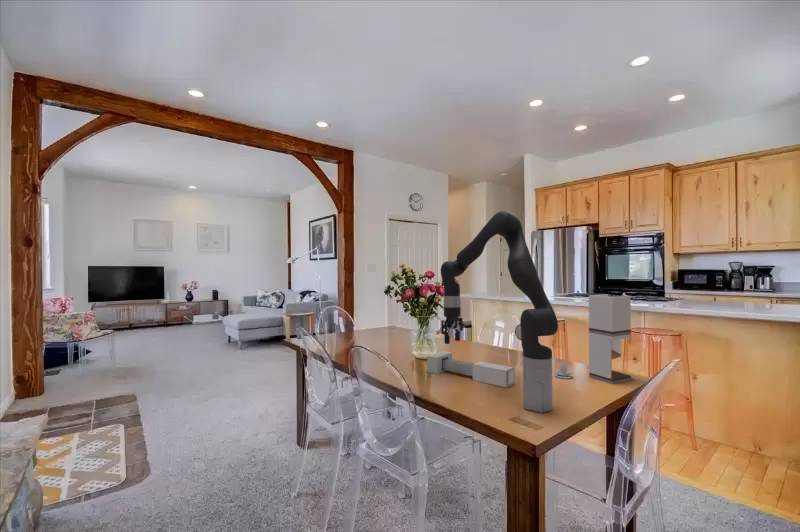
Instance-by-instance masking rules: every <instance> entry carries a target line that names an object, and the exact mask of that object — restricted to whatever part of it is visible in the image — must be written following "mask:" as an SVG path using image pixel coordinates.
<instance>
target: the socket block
mask: <svg viewBox="0 0 800 532" xmlns="http://www.w3.org/2000/svg"><path fill="white" fill-rule="evenodd" d="M443 358H448V359H453V353H452V352H451V351H450V352H449V351H443V350H442V351H438V352H435V353H432V354H428V355H427V356H426V362H427V363H426V364H427V365H426V368H427V369H426V370H427V371H426V372H427V373H431V374H434V375H438V374H439V375H440V374H441V373H444V372H447V371H448V370H445V369H442V359H443Z"/></svg>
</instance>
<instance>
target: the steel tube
mask: <svg viewBox="0 0 800 532" xmlns="http://www.w3.org/2000/svg"><path fill="white" fill-rule="evenodd" d="M473 364H475V363H474V362H468V361H465V360H464V361H463V360H457V359H453V358H452V359H448V358H443V359H442V369H445V370H447V371H451V372H456V373H461V374H464V375H469V376H473Z"/></svg>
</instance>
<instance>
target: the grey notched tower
mask: <svg viewBox="0 0 800 532" xmlns="http://www.w3.org/2000/svg"><path fill="white" fill-rule="evenodd" d="M631 298H632V297H631V295H624V296H609V294H605V293H604V294H591V295H588V375H589V376H588V377H589V378H590V377H591V379H593V378H594V380H597V381H601V382H604V383H605V384H606V383H607V384H610V385H617V384H621V383H626V382H630V381H632V375H630V374H627V373H623V372H620V371H616V370H612V368H613V367H612V363H613V361H612V360H615V359H618V358H620V357H622V340H623V339H629V338H631V336H632V333H631V331H632V330H631V329H632V325H631V321H632V320H631V319H632V317H631V315H632V314H631V305H632V303H631V302H632V301H631Z"/></svg>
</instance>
